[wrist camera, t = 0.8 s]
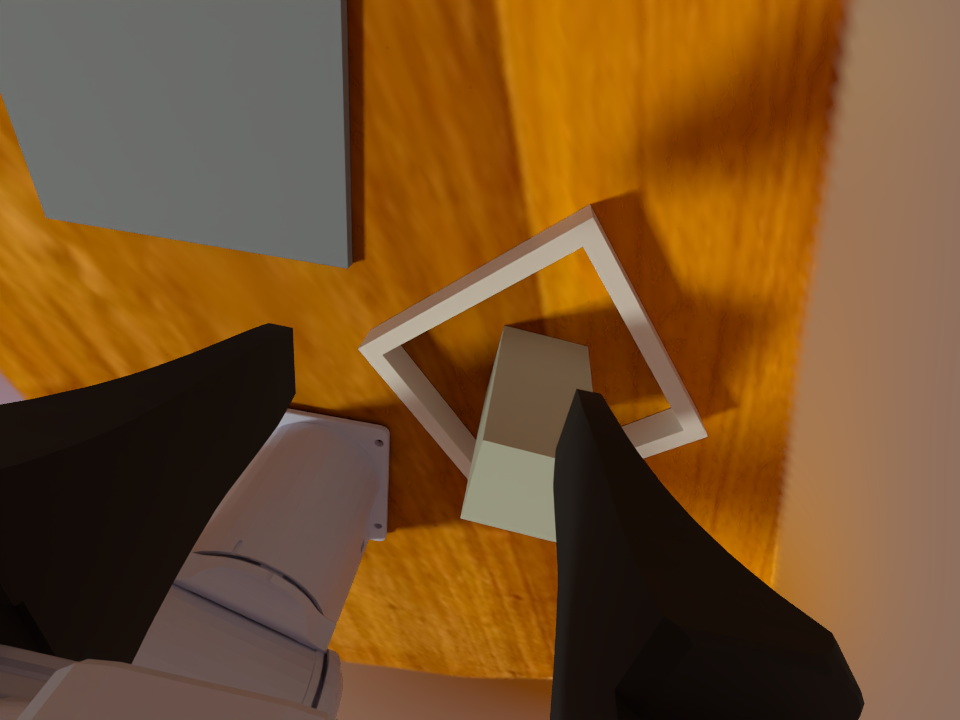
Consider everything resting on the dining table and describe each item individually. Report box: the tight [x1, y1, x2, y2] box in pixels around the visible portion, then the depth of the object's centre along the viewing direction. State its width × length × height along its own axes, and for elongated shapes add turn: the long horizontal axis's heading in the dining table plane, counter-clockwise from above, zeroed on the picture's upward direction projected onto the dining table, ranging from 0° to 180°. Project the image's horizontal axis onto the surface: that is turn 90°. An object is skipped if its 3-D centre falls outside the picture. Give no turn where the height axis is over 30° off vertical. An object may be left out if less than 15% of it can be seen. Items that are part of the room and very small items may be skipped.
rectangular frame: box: [358, 205, 708, 479], centre depth 23 cm, size 12×12×2 cm
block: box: [460, 326, 593, 542], centre depth 20 cm, size 4×4×8 cm
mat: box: [0, 0, 353, 268], centre depth 18 cm, size 14×14×1 cm
